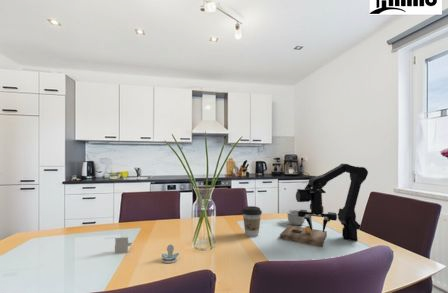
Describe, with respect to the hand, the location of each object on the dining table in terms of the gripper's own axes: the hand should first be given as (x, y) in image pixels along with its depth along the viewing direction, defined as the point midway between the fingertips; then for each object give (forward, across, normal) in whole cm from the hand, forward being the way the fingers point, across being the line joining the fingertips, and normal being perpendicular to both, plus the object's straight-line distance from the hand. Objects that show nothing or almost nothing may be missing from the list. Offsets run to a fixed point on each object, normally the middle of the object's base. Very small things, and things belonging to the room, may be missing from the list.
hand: (317, 231), depth 119 cm
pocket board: (+4, +7, 0) cm, 8 cm away
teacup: (+4, +17, -23) cm, 29 cm away
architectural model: (+4, +76, +63) cm, 99 cm away
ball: (0, +5, 0) cm, 5 cm away
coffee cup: (+4, +33, +11) cm, 35 cm away
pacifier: (+4, +51, +57) cm, 77 cm away
